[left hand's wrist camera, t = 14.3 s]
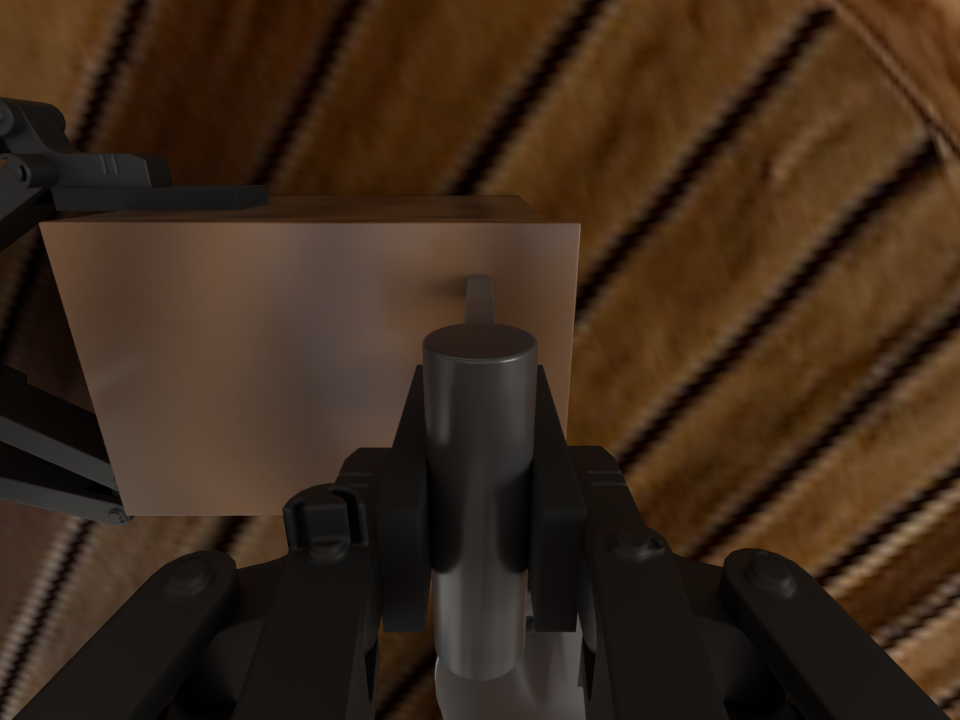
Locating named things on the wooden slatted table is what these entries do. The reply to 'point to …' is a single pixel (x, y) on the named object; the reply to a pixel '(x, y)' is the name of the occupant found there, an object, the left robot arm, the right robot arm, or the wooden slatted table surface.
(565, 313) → the lid
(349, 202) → the chest
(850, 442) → the wooden slatted table surface
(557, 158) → the wooden slatted table surface
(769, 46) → the wooden slatted table surface
